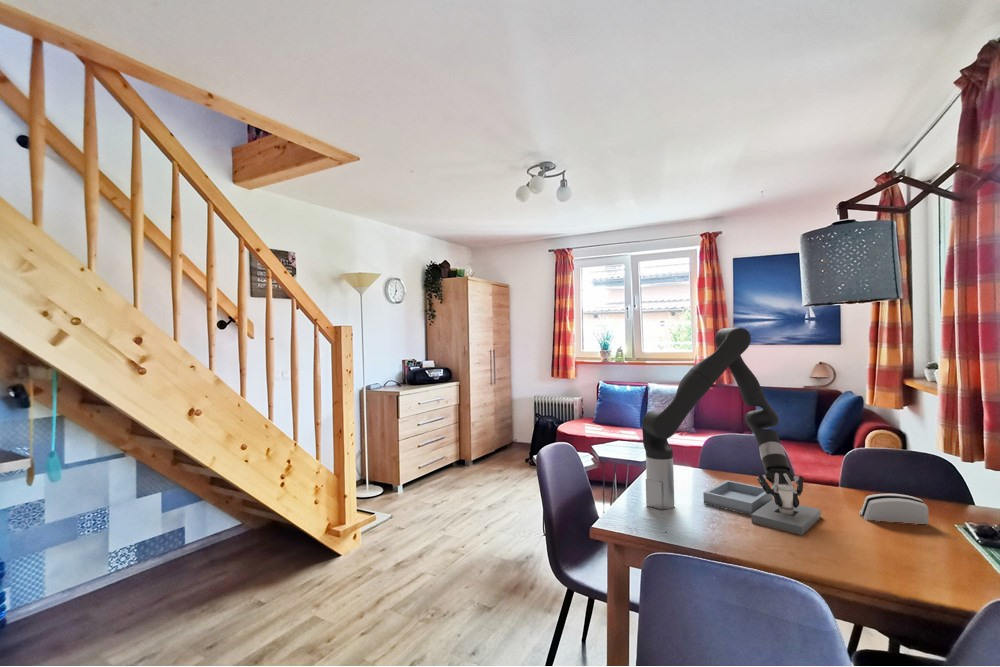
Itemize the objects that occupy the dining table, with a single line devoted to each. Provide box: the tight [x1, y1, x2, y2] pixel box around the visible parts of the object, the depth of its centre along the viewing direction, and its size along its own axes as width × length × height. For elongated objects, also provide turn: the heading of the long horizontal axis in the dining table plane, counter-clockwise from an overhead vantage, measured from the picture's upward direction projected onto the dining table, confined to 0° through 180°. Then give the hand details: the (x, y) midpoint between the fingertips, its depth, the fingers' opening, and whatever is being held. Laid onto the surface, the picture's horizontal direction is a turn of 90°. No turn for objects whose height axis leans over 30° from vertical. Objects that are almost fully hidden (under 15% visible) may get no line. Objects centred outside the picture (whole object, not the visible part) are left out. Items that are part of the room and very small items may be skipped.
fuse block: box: [750, 498, 822, 536], centre depth 147 cm, size 20×14×2 cm
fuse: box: [778, 483, 794, 516], centre depth 148 cm, size 4×4×11 cm
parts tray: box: [702, 479, 774, 516], centre depth 164 cm, size 20×16×4 cm
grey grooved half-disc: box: [859, 493, 929, 525], centre depth 144 cm, size 17×5×10 cm, turn 72°
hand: (788, 505), depth 146 cm, fingers closed on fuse, 4 cm apart
